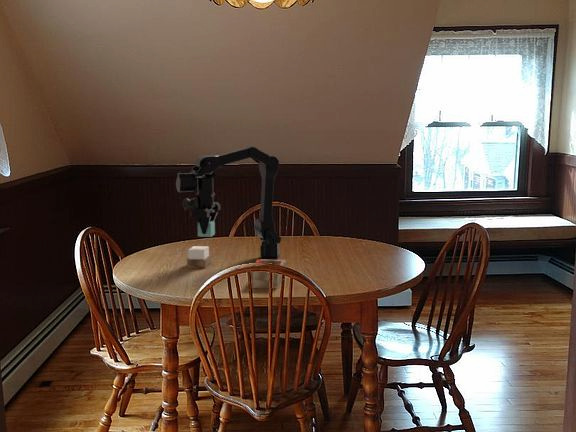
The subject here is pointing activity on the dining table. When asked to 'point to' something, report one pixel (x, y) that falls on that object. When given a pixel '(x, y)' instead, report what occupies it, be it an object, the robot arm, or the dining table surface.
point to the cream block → (198, 252)
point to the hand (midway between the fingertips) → (206, 232)
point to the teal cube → (209, 232)
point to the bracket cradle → (267, 276)
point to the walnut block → (199, 262)
